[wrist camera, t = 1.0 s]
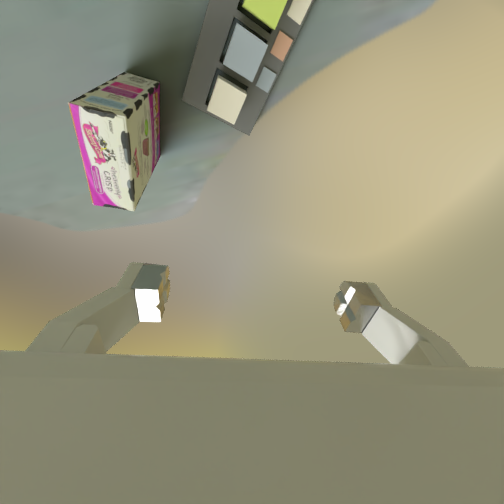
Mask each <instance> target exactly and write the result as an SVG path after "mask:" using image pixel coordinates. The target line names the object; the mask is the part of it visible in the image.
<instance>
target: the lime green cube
mask: <svg viewBox="0 0 504 504" xmlns="http://www.w3.org/2000/svg"><path fill="white" fill-rule="evenodd" d="M286 3H287V0H244V2H243V5H242V7H243V8H244V9H246V10H247V11H248V12H250V13H251V14H252V15H254V16H255V17H256V18H258V19H259V20H260V21H262V22H263V23H264V24H266V25H267V26H268V27H270V28H271V29H274V30H275V28H276V26H277V24H278V21H279V19H280V17H281V14H282V12H283V10H284V7H285V5H286Z"/></svg>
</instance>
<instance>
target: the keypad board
mask: <svg viewBox="0 0 504 504" xmlns="http://www.w3.org/2000/svg"><path fill="white" fill-rule="evenodd" d="M313 2H314V0H287V3H286V5H285V7H284V10H283V12H282V14H281V17H280V19H279V21H278V24H277V26H276V28H275V30H274V29H271V32H270V34H269V33H268V32H267V31H265V30H264V29H263V28H261V27H260V26H259V25H257V24H256V23H255V22H253V21H252V20H251V19H249V18H248V17H246V16H245V15H244V14H242V13H241V12H240V11H238V10H237V6H238V3H239V0H209V3H208V7H207V10H206V14H205V18H204V21H203V25H202V28H201V32H200V36H199V39H198V43H197V47H196V50H195V54H194V57H193V61H192V65H191V68H190V72H189V76H188V79H187V83H186V86H185V90H184V94H183V97H182V101H184V102H186V103H188V104H190V105H191V106H193V107H195V108H197V109H199V110H201V111H203V112H205V113H207V114H209V115H210V116H212V117H214V118H216V119H218V120H220V121H222V122H224V123H226V124H228V125H230V126H231V127H233V128H235V129H237V130H239V131H241V132H243V133H245V134H247V135H250V133H251V131H252V129H253V127H254V125H255V123H256V121H257V119H258V116H259V114H260V112H261V110H262V108H263V106H264V104H265V102H266V100H267V98H268V96H269V94H270V91H271V89H272V87H273V85H274V83H275V81H276V79H277V77H278V75H279V73H280V71H281V69H282V66H283V64H284V62H285V60H286V58H287V56H288V54H289V52H290V50H291V48H292V46H293V44H294V41H295V39H296V37H297V35H298V33H299V31H300V29H301V27H302V25H303V23H304V21H305V19H306V16H307V14H308V12H309V10H310V8H311V6H312V4H313ZM234 17H235V18H236V19H238V20H239V21H240V22H242V23H243V24H245V25H246V26H247V27H249V28H250V29H252V30H253V31H254V32H256V33H257V34H258V35H260V36H261V37H263V38H264V39H265V40H267V41H266V44H267V45H268V47H267V49H266V52H265V54H264V56H263V59H262V61H261V63H260V66H259V68H258V70H257V73H256V75H255V77H254V80H253V82H251V81H249V80H248V79H246V78H244V77H243V76H241V75H240V74H238V73H236V72H235V71H233V70H232V69H230V68H228V67H227V66H225V65H224V64H223V63H222V62H220V61H219V60H220V57H221V54H222V51H223V48H224V45H225V42H226V39H227V36H228V33H229V30H230V27H231V24H232V21H233V18H234ZM217 68H218V69H220V70H222V71H223V72H225V73H227V74H228V75H230V76H231V77H233V78H235V79H236V80H238V81H240V82H241V83H243V84H244V85H246V86H247V89H246V93H247V96H246V98H245V101H244V103H243V105H242V108H241V110H240V112H239V115H238V117H237V119H236V122H235V124H234V125H233V124H231V123H230V122H228V121H226V120H224V119H222V118H220V117H218V116H216V115H214V114H213V113H211V112H209V111H207V107H208V104H207V103H205V102H206V99H207V96H208V93H209V90H210V87H211V84H212V81H213V78H214V75H215V72H216V69H217Z"/></svg>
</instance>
